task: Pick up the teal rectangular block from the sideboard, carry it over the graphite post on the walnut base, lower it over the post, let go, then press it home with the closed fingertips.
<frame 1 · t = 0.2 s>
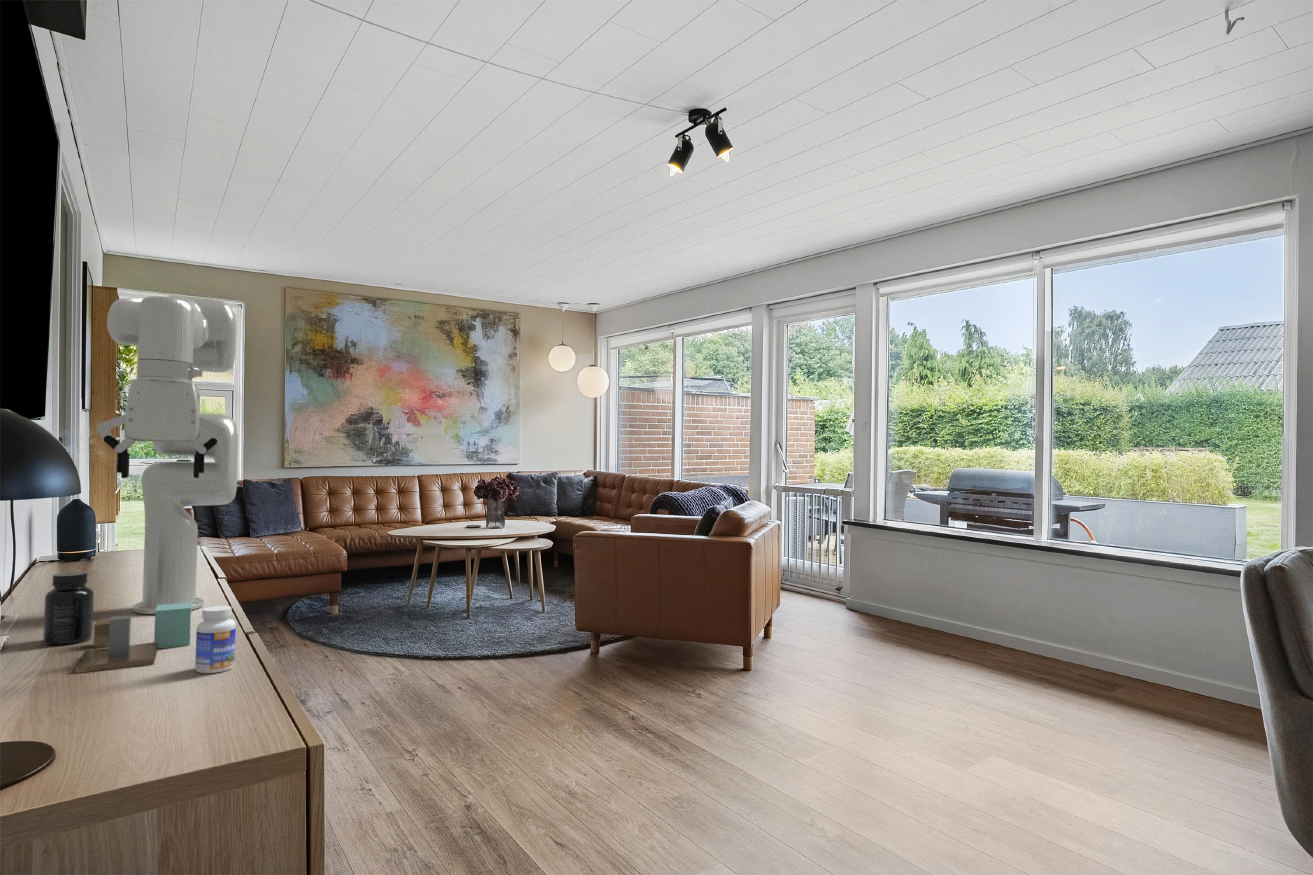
hand: (161, 477, 117), 30 cm above the sideboard, tool pointing down, fingers open, 9 cm apart
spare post: (105, 644, 126), on the sideboard
post: (118, 660, 118), on the sideboard
teal rectangular block: (172, 643, 128), on the sideboard
supplement bottle: (68, 641, 128), on the sideboard
pill bottle: (215, 670, 115), on the sideboard
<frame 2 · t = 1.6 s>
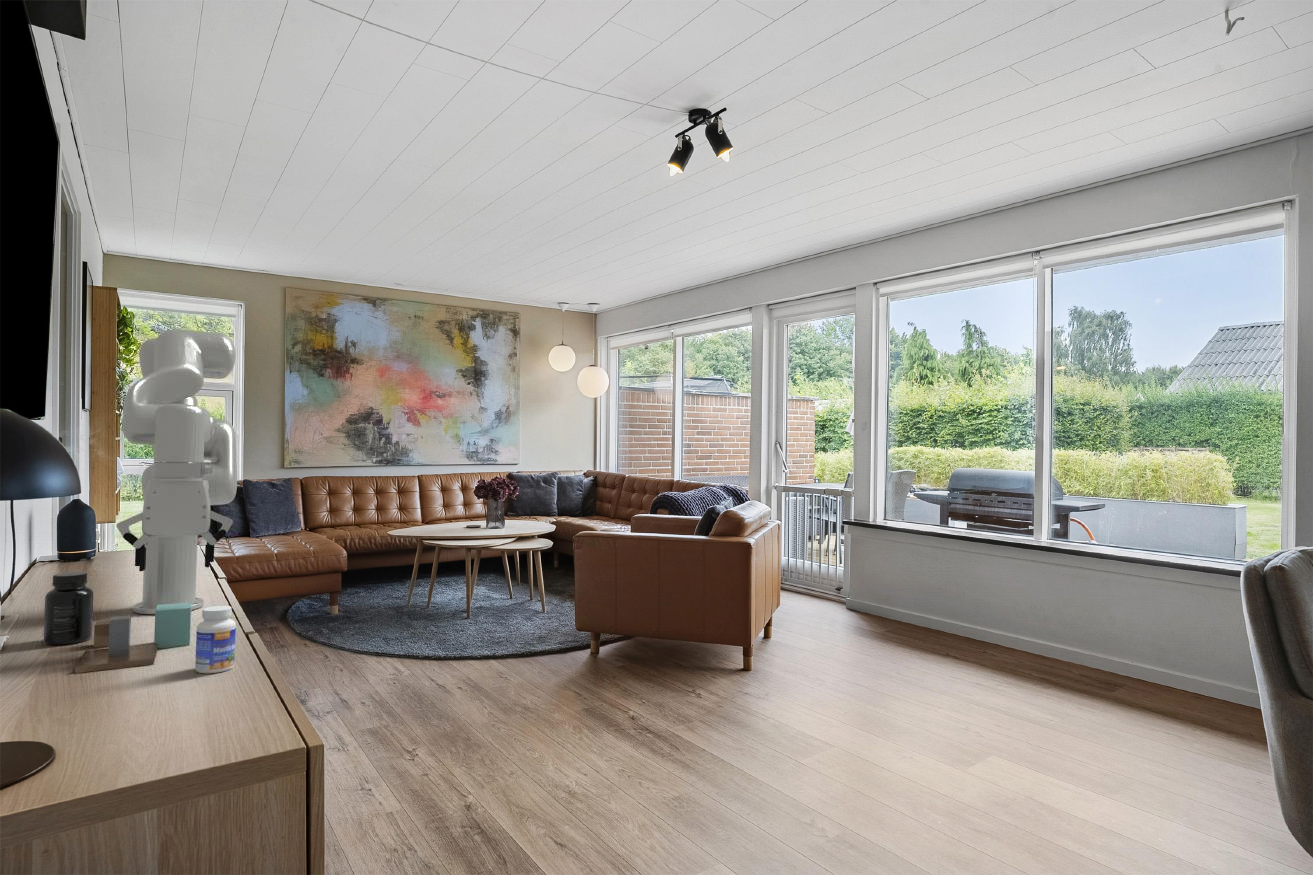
hand: (175, 568, 128), 14 cm above the sideboard, tool pointing down, fingers open, 9 cm apart
nothing on the sideboard moved.
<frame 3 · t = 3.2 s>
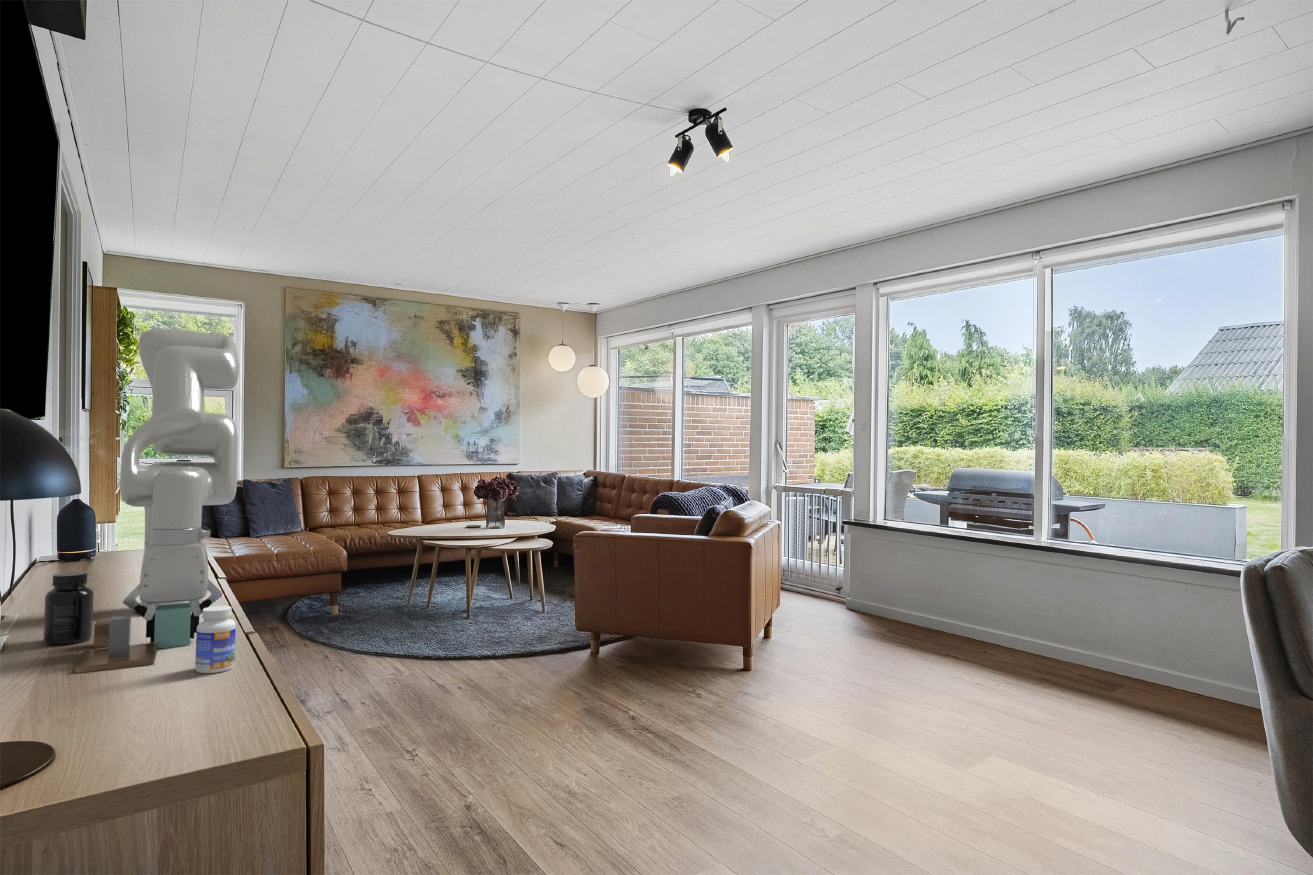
hand: (172, 637, 128), 1 cm above the sideboard, tool pointing down, fingers closed on teal rectangular block, 5 cm apart
teal rectangular block: (172, 643, 128), on the sideboard, touching gripper
everything else where it was.
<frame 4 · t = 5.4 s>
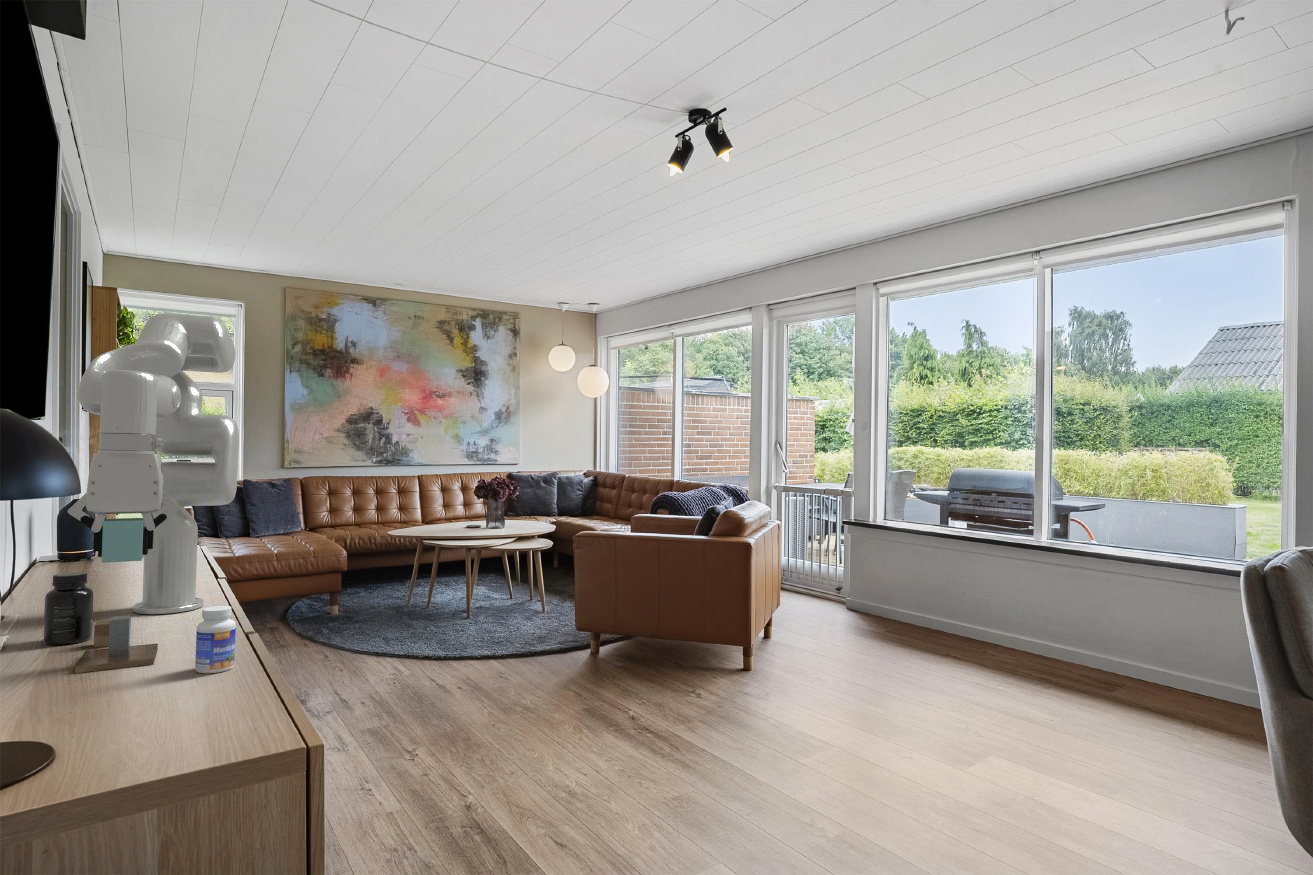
hand: (123, 553, 118), 18 cm above the sideboard, tool pointing down, fingers closed on teal rectangular block, 5 cm apart
teal rectangular block: (123, 559, 118), point 17 cm above the sideboard, touching gripper
everything else where it was.
when the fingers open (3 cm above the sideboard, at t = 7.9 s): teal rectangular block stays where it is, resting on post.
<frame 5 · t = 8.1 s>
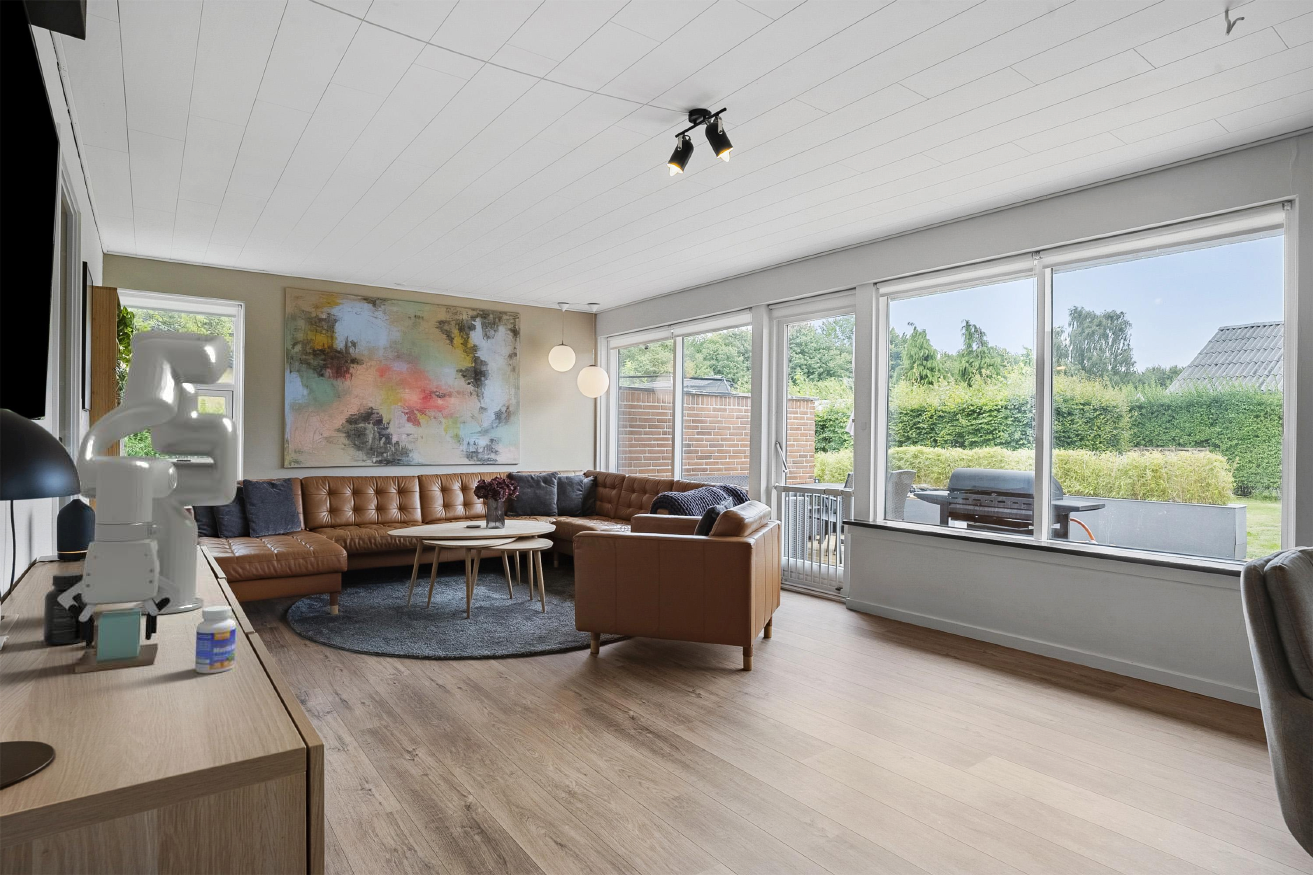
hand: (119, 640, 118), 3 cm above the sideboard, tool pointing down, fingers open, 7 cm apart
teal rectangular block: (119, 654, 118), point 1 cm above the sideboard, touching post
everything else where it was.
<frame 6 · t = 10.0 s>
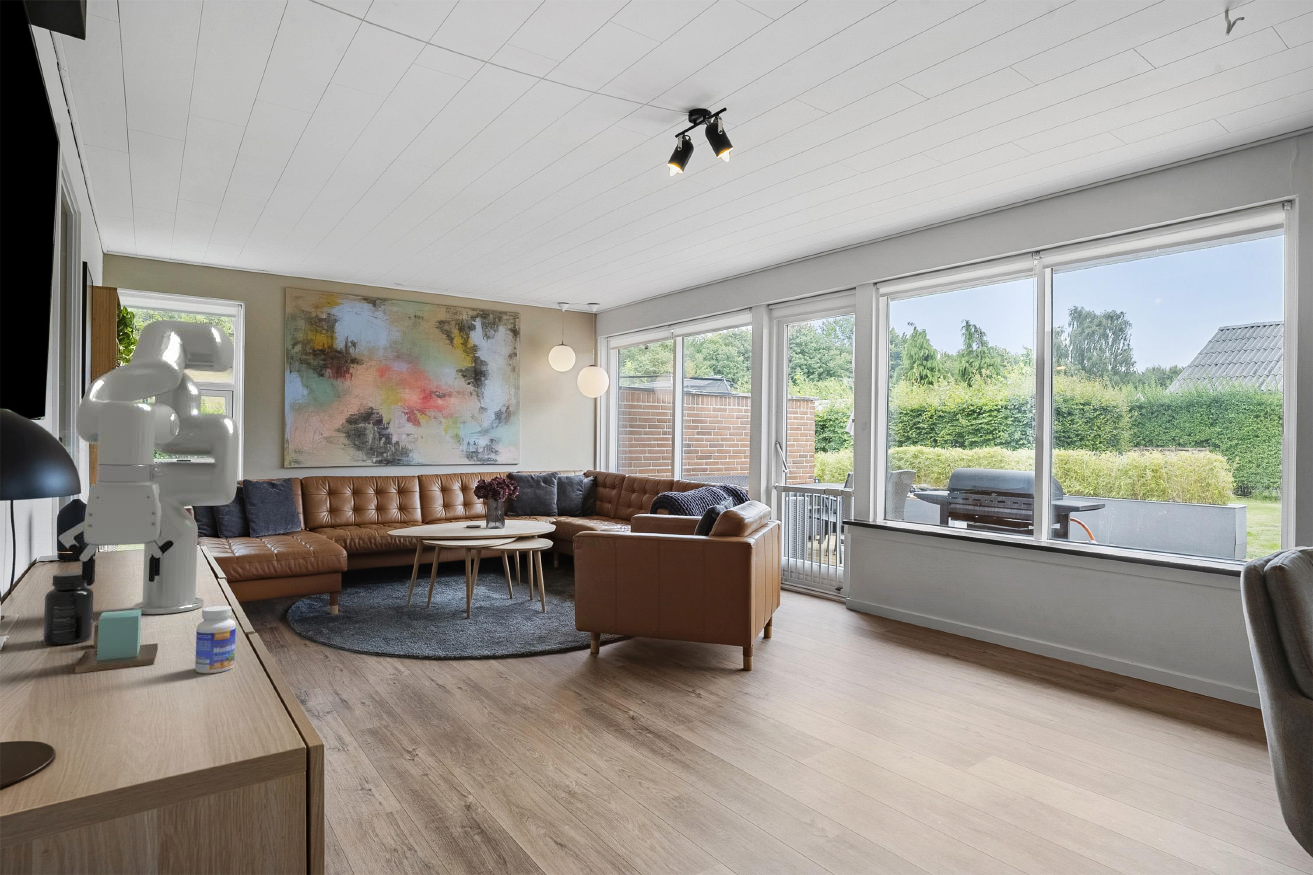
hand: (121, 581, 118), 13 cm above the sideboard, tool pointing down, fingers open, 7 cm apart
nothing on the sideboard moved.
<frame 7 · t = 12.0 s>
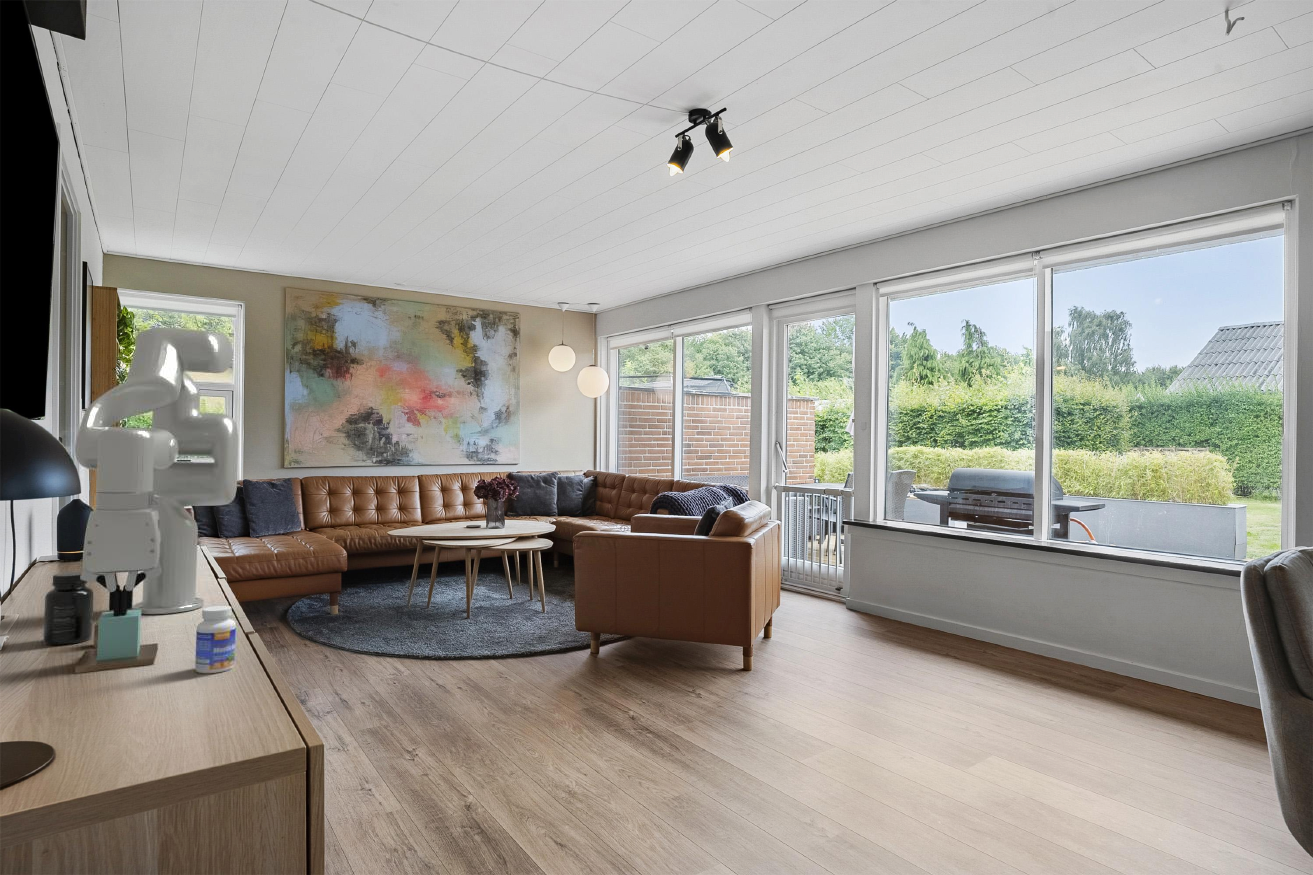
hand: (120, 613, 118), 8 cm above the sideboard, tool pointing down, fingers closed
teal rectangular block: (119, 654, 118), point 1 cm above the sideboard, touching gripper, post
everything else where it was.
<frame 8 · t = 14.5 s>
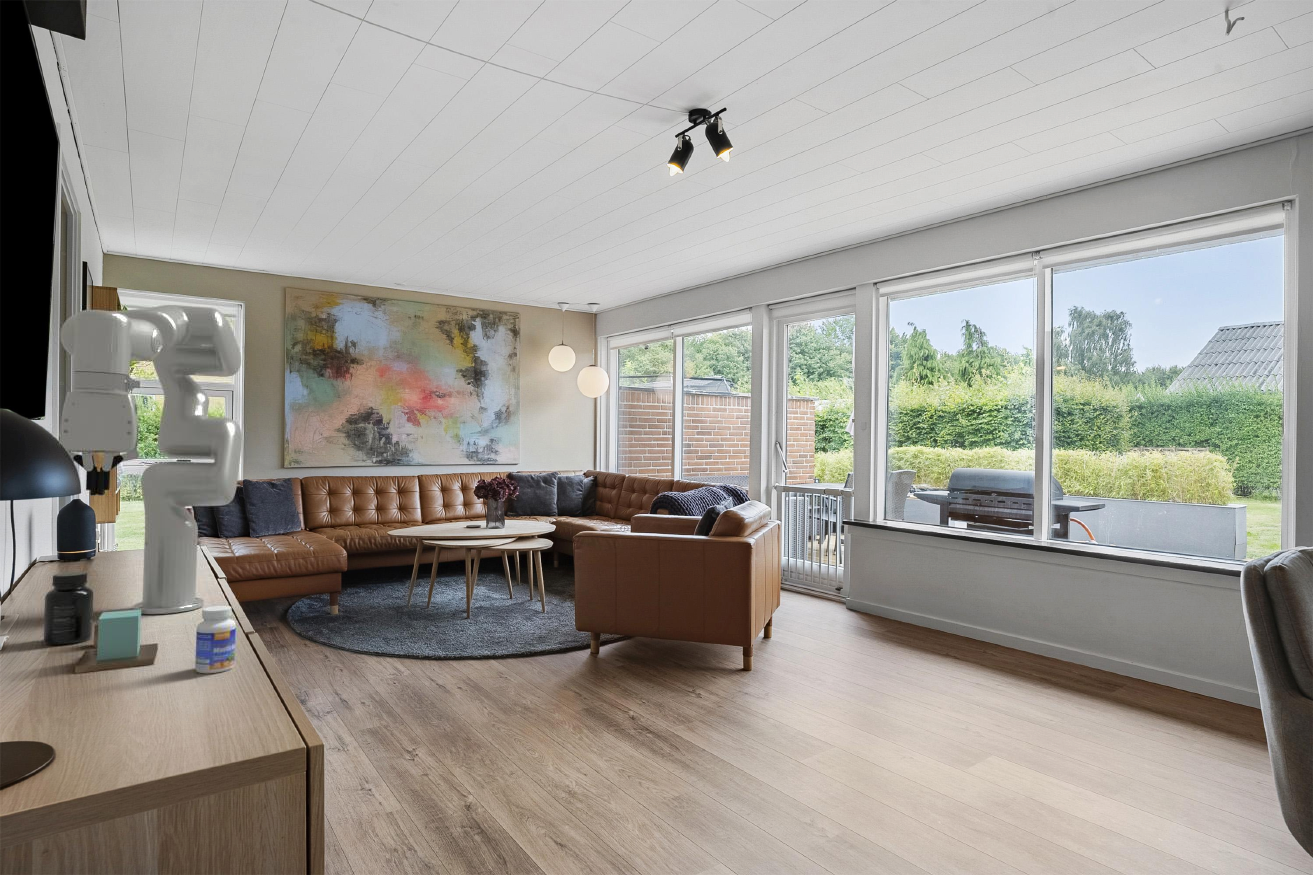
hand: (97, 494, 119), 27 cm above the sideboard, tool pointing down, fingers closed
teal rectangular block: (119, 654, 118), point 1 cm above the sideboard, touching post
everything else where it was.
at the end: teal rectangular block 0.0 cm from the post (horizontally); teal rectangular block point 1.0 cm above the sideboard; teal rectangular block tilted 0° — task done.
